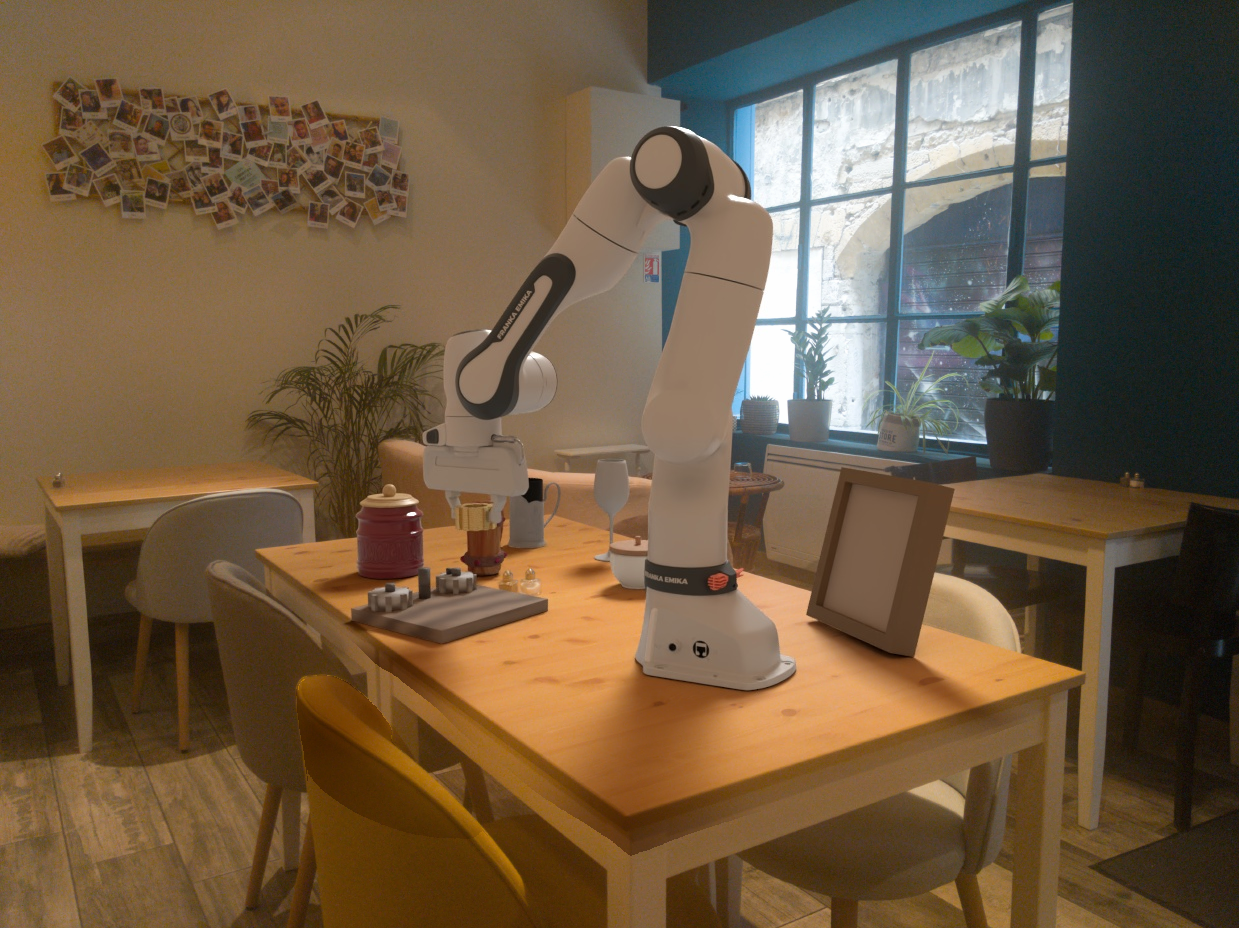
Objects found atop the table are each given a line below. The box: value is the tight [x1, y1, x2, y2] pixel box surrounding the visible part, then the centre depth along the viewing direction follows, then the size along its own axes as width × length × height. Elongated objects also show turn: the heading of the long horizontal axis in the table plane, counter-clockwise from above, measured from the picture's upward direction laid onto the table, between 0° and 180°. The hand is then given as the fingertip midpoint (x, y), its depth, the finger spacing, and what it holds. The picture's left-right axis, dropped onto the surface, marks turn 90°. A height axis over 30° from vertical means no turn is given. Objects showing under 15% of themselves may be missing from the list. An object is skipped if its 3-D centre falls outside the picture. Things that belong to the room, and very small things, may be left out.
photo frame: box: [805, 466, 955, 658], centre depth 145 cm, size 15×22×25 cm
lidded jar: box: [608, 535, 648, 590], centre depth 177 cm, size 11×11×9 cm
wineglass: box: [593, 458, 630, 563], centre depth 201 cm, size 8×8×21 cm
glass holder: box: [507, 477, 562, 549], centre depth 218 cm, size 9×14×15 cm, turn 133°
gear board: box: [350, 566, 549, 644], centre depth 155 cm, size 21×24×7 cm
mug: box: [459, 494, 508, 577], centre depth 188 cm, size 15×8×15 cm, turn 168°
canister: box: [355, 483, 425, 580], centre depth 186 cm, size 13×13×18 cm
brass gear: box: [454, 502, 497, 532], centre depth 150 cm, size 6×6×4 cm
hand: (476, 520), depth 150 cm, fingers closed on brass gear, 6 cm apart
